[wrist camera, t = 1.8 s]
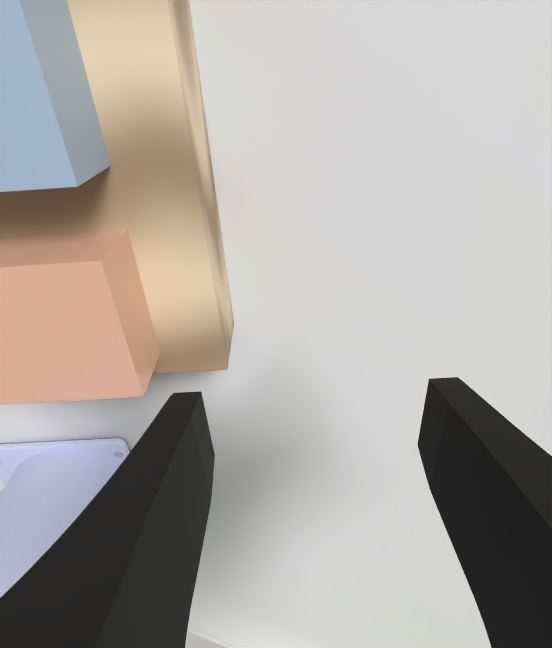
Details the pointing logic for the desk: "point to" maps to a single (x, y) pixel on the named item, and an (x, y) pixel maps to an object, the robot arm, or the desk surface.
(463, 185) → the desk surface
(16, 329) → the terracotta tile
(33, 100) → the light blue square block
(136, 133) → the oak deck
